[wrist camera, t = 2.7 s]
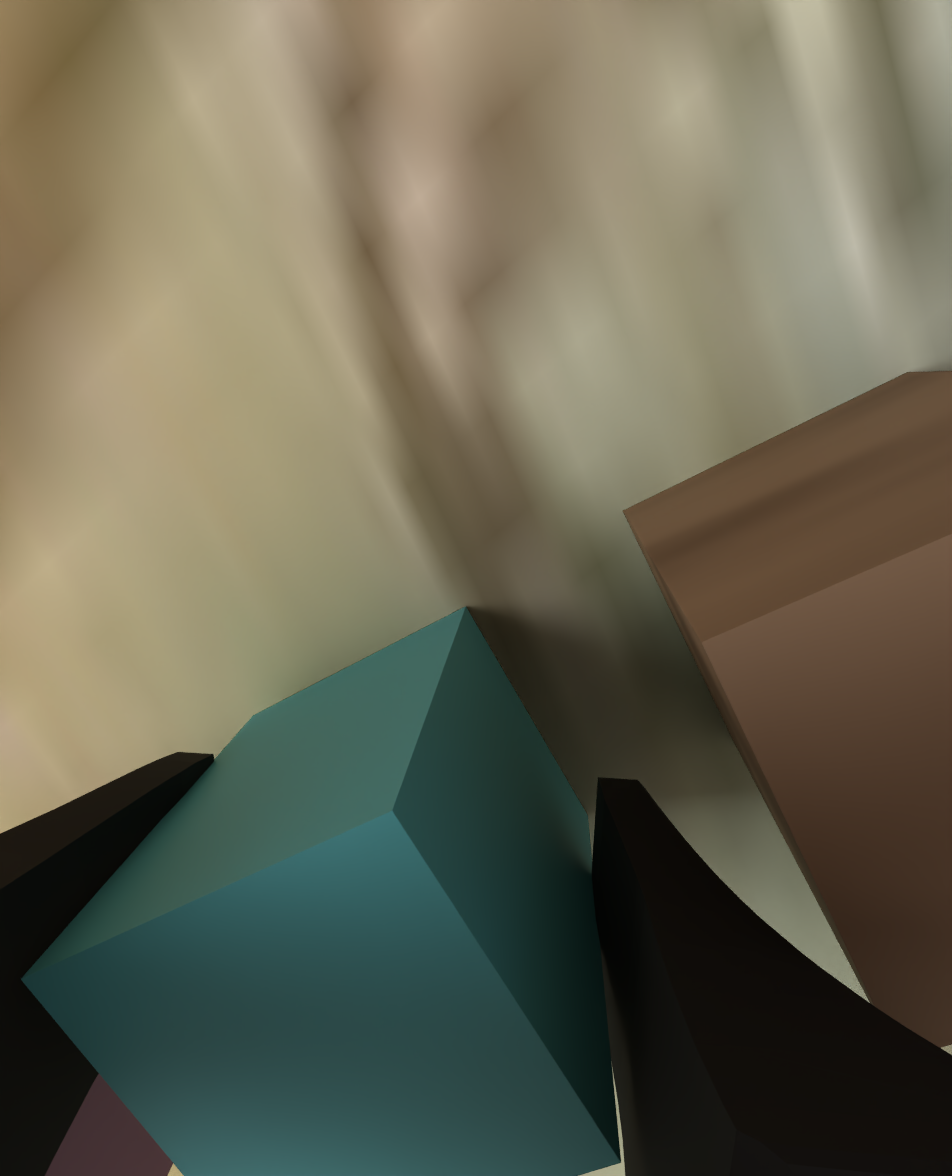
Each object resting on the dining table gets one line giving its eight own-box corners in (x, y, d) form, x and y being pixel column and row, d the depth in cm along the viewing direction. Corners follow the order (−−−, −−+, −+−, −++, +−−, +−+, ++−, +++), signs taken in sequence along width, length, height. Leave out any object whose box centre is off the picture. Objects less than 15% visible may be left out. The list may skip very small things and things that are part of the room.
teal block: (587, 815, 13) (620, 1161, 7) (380, 902, 14) (262, 1270, 8) (465, 606, 12) (392, 810, 6) (253, 715, 13) (20, 978, 7)
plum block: (264, 972, 15) (81, 1354, 9) (96, 1036, 16) (-168, 1418, 10) (141, 796, 14) (-152, 1095, 8) (-29, 875, 15) (-401, 1194, 9)
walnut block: (1004, 633, 11) (1480, 893, 6) (733, 741, 12) (899, 1058, 6) (906, 373, 10) (1355, 357, 5) (622, 510, 11) (701, 642, 6)
